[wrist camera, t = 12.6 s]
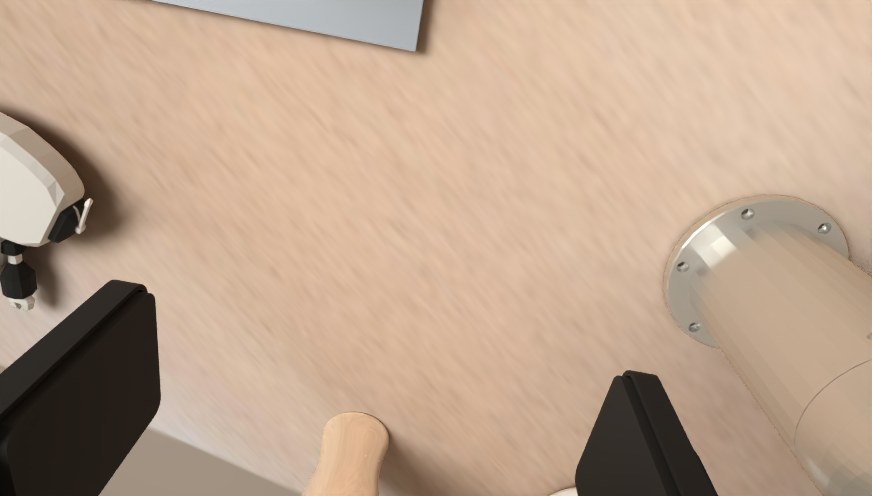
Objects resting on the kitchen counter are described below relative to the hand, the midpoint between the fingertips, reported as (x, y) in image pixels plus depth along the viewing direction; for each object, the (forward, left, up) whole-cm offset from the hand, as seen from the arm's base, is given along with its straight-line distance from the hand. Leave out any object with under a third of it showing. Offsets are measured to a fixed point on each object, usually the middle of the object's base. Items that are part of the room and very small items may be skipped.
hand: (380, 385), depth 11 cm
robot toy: (+30, +13, -29) cm, 44 cm away
